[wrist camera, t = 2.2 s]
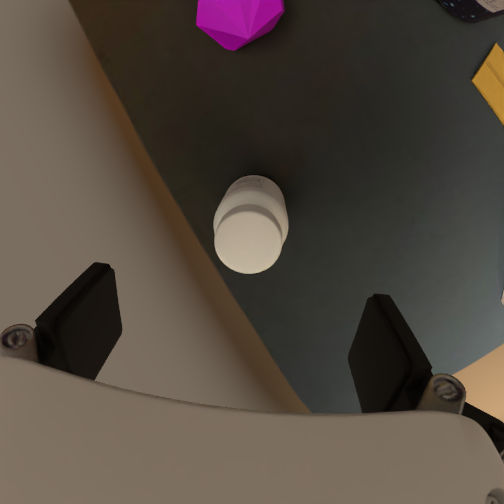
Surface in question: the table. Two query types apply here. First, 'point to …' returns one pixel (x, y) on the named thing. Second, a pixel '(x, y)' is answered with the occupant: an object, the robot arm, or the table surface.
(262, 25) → the crystal
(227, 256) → the pill bottle
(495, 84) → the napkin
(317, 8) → the table surface
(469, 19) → the beverage can
